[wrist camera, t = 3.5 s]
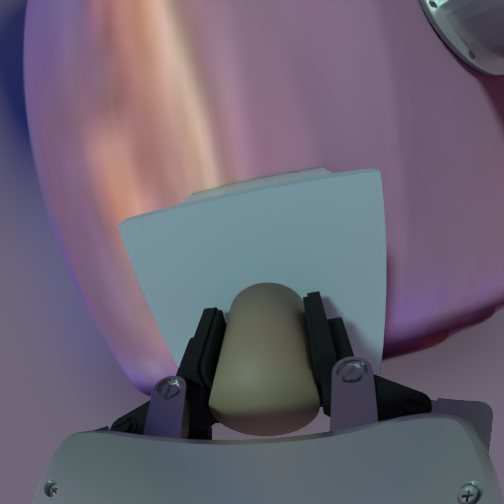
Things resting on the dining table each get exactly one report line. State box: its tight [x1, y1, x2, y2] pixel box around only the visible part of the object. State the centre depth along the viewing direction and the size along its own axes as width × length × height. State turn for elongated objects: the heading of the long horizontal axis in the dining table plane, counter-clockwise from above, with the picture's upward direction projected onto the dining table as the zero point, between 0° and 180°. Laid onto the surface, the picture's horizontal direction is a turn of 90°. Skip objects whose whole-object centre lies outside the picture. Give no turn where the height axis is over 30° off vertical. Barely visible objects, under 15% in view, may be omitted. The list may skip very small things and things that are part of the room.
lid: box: [118, 168, 386, 436], centre depth 11 cm, size 12×12×6 cm
